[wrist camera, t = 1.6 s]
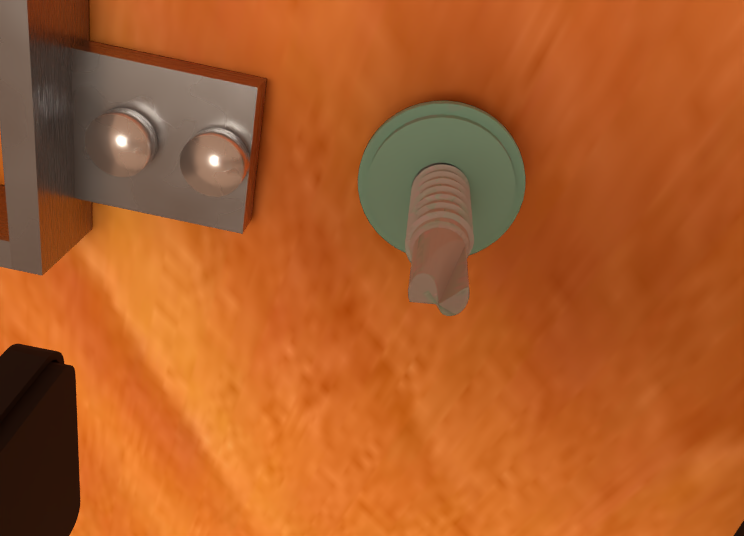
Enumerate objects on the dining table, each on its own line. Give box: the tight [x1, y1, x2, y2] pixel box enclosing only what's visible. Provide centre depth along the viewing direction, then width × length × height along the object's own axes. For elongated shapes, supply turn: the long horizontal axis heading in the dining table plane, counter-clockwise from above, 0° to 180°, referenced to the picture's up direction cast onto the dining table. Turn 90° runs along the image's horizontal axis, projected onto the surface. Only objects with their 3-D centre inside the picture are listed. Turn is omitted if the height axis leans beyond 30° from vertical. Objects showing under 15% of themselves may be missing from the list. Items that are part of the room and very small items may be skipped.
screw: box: [358, 101, 525, 316], centre depth 19 cm, size 9×5×5 cm
